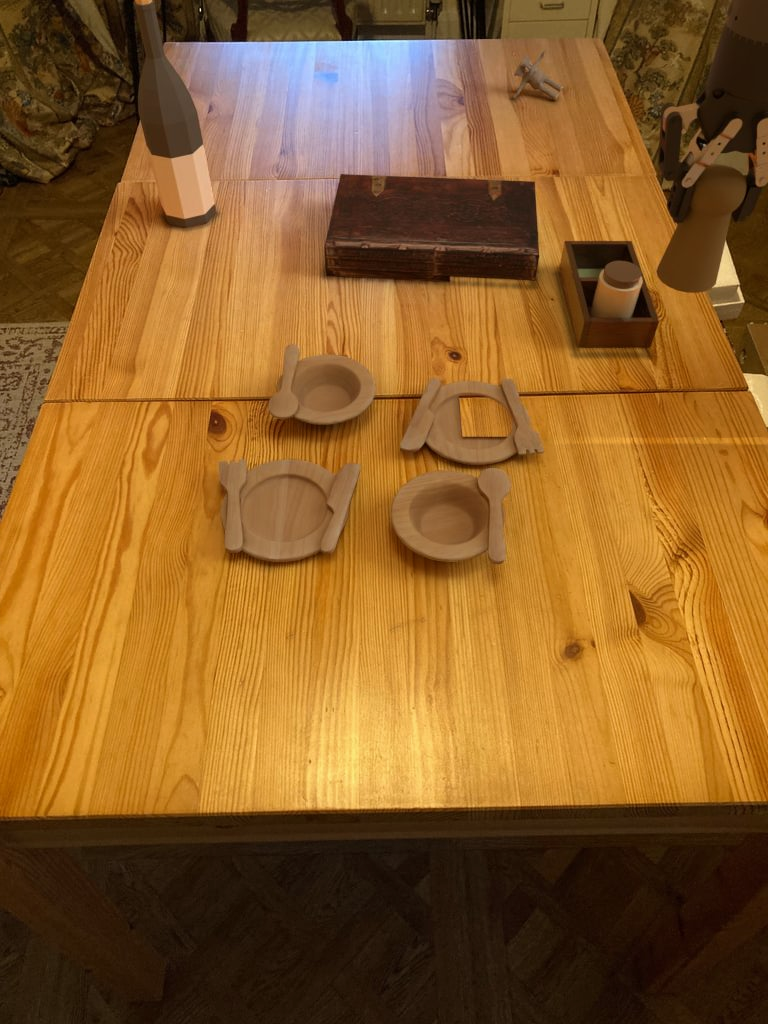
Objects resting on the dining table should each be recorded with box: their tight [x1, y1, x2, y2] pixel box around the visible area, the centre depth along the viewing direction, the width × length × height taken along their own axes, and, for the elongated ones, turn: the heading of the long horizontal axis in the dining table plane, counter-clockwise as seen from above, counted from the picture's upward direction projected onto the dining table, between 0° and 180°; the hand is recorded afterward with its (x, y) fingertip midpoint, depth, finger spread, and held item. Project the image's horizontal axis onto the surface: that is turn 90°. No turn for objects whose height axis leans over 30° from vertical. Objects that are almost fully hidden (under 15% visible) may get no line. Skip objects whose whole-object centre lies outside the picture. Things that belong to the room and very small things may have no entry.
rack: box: [559, 240, 660, 349], centre depth 101 cm, size 9×17×5 cm, turn 0°
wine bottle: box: [133, 0, 216, 229], centre depth 106 cm, size 8×8×30 cm
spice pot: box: [589, 261, 643, 318], centre depth 96 cm, size 5×5×8 cm
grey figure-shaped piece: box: [512, 48, 564, 101], centre depth 141 cm, size 10×6×9 cm
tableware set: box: [218, 344, 545, 565], centre depth 84 cm, size 35×29×4 cm
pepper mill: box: [656, 163, 747, 294], centre depth 75 cm, size 6×6×11 cm
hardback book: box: [324, 173, 540, 282], centre depth 111 cm, size 29×19×5 cm, turn 85°
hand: (706, 217), depth 74 cm, fingers closed on pepper mill, 5 cm apart
